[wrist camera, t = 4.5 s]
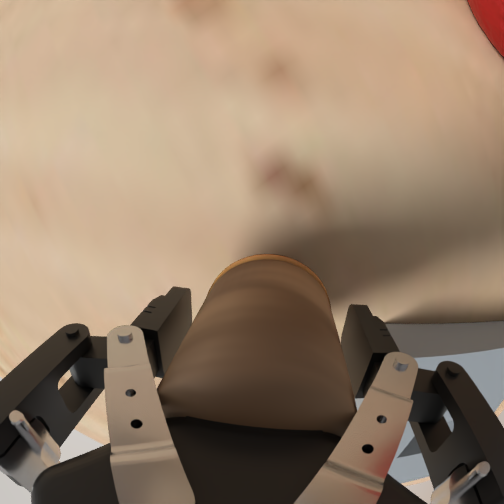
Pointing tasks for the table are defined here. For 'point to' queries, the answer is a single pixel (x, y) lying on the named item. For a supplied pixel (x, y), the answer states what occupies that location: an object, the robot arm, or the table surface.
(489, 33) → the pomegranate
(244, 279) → the peg
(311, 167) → the table surface
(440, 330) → the board
